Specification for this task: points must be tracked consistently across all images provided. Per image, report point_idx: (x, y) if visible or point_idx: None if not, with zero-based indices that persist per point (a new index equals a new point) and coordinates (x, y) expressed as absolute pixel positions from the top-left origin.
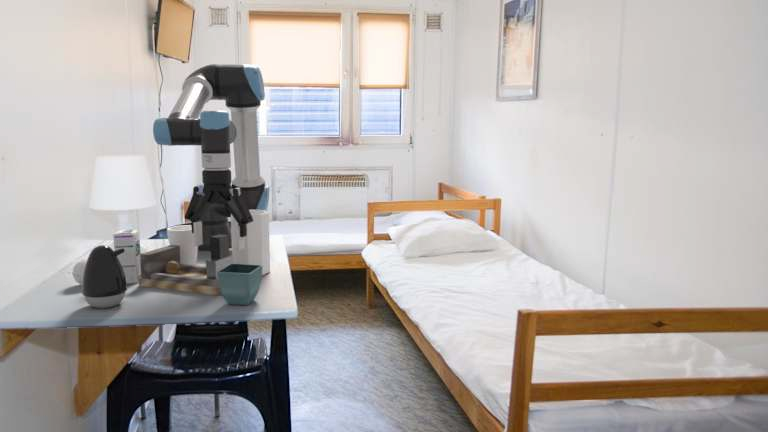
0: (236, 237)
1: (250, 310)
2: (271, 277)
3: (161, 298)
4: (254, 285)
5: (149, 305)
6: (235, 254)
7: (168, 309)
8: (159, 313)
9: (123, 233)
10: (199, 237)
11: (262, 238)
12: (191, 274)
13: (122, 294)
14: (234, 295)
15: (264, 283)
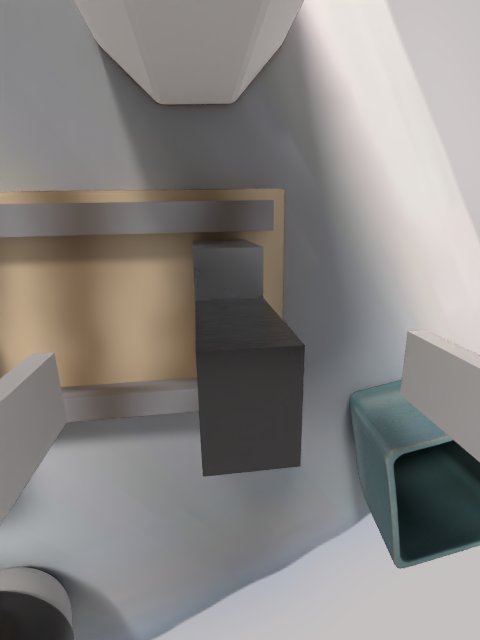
0: (459, 444)
1: None
2: (335, 60)
3: (120, 484)
4: None
5: (144, 541)
6: (145, 53)
7: (223, 539)
8: (225, 568)
9: None
10: (32, 421)
11: None
12: (22, 280)
13: (67, 616)
14: (402, 472)
15: (352, 177)
